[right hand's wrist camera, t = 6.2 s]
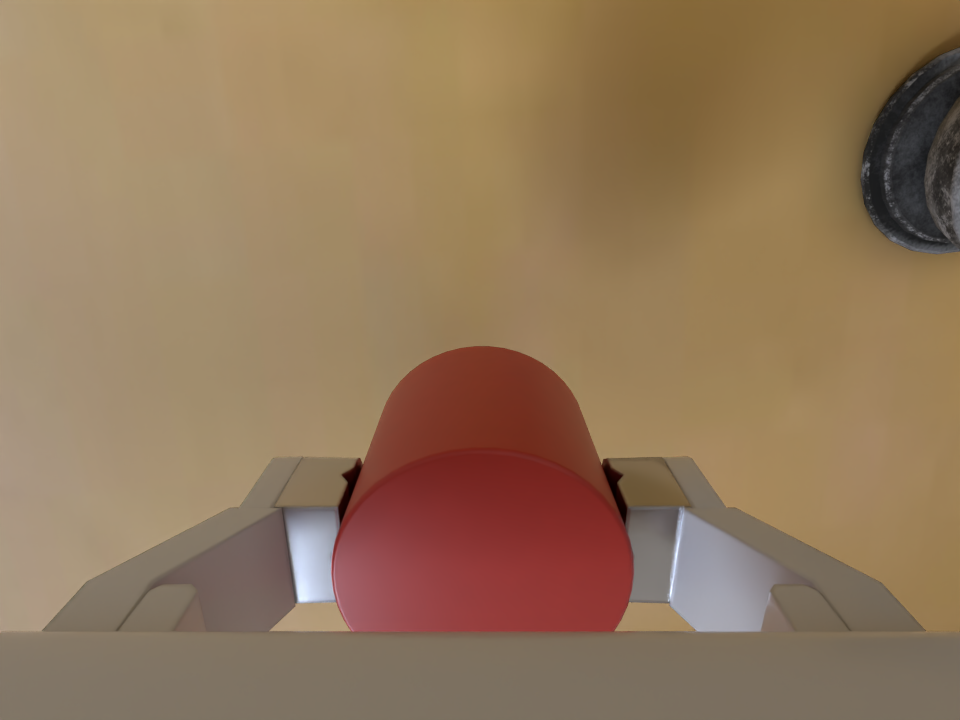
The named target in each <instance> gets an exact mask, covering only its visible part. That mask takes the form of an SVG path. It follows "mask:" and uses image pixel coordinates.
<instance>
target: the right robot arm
mask: <svg viewBox="0 0 960 720" xmlns="http://www.w3.org/2000/svg"><path fill="white" fill-rule="evenodd" d="M362 466H363V464H362V461H361V459H360V458H331V457H305V458H304V457H302V456H301V457H276V458H273V459H272V460H271V461H270V463H269V464H268V466H267V467H266V469H265V470H264V472H263V473H262V475H261V476H260V478H259V479H258V480H257V482H256V483H255V485H254V486H253V488H252V489H251V491H250V492H249V494H248V495H247V497H246V498H245V500H244V501H243V503H242V504H241V505H240V507H239V508H229V509H227V510H225V511H223V512H221V513H219V514H217V515H215V516H213V517H211V518H209V519H207V520H205V521H203V522H202V523H200V524H198V525H196V526H194V527H192V528H190V529H188V530H186V531H184V532H182V533H180V534H178V535H176V536H174V537H172V538H171V539H169V540H167V541H165V542H163V543H161V544H159V545H157V546H155V547H153V548H151V549H149V550H147V551H145V552H143V553H142V554H140V555H138V556H136V557H134V558H132V559H130V560H128V561H126V562H124V563H122V564H120V565H118V566H116V567H114V568H112V569H111V570H109V571H107V572H105V573H103V574H101V575H99V576H97V577H95V578H93V579H91V580H89V581H87V582H86V583H85V584H84V585H83V586H82V587H81V589H80V590H79V591H78V592H77V593H76V594H75V595H74V596H73V597H72V598H71V599H70V601H69V602H68V603H67V604H66V605H65V606H64V607H63V608H62V609H61V610H60V611H59V613H58V614H57V615H56V616H55V617H54V618H53V619H52V620H51V621H50V622H49V624H48V625H47V626H46V627H45V628H44V629H43V630H42V631H0V720H960V632H944V631H926V630H925V629H924V628H923V627H922V626H921V625H920V624H919V623H918V622H917V621H916V620H915V619H914V617H913V616H912V615H911V614H910V613H909V612H908V611H907V610H906V609H905V608H904V607H903V606H902V604H901V603H900V602H899V601H898V600H897V599H896V598H895V597H894V596H893V595H892V594H891V593H890V591H889V590H888V589H887V588H886V587H885V586H884V585H883V584H882V583H881V582H879V581H877V580H875V579H873V578H871V577H869V576H867V575H865V574H863V573H862V572H860V571H858V570H856V569H854V568H852V567H850V566H848V565H846V564H844V563H842V562H840V561H838V560H836V559H834V558H832V557H830V556H828V555H826V554H825V553H823V552H821V551H819V550H817V549H815V548H813V547H811V546H809V545H807V544H805V543H803V542H801V541H799V540H797V539H795V538H793V537H791V536H789V535H788V534H786V533H784V532H782V531H780V530H778V529H776V528H774V527H772V526H770V525H768V524H766V523H764V522H762V521H760V520H758V519H756V518H754V517H752V516H751V515H749V514H747V513H745V512H743V511H741V510H739V509H737V508H726V506H725V505H724V503H723V502H722V501H721V499H720V498H719V496H718V495H717V494H716V492H715V491H714V489H713V488H712V486H711V485H710V484H709V482H708V481H707V479H706V478H705V476H704V475H703V474H702V472H701V471H700V469H699V468H698V466H697V465H696V464H695V462H694V461H693V459H692V458H690V457H688V456H683V457H646V458H607V459H603V463H602V468H603V470H604V473H605V475H606V478H607V481H608V483H609V486H610V489H611V491H612V494H613V496H614V499H615V502H616V504H617V507H618V510H619V512H620V515H621V517H622V520H623V523H624V525H625V528H626V531H627V533H628V536H629V538H630V542H631V547H632V551H633V556H634V579H633V587H632V592H631V595H630V599H629V602H642V603H670V606H671V607H672V608H673V609H674V610H675V611H676V612H677V613H678V614H679V615H680V616H681V617H682V618H683V619H684V620H686V621H687V622H688V623H689V624H690V625H691V626H692V627H693V628H694V629H695V630H696V631H575V632H467V631H269V630H270V629H271V628H273V627H274V626H275V625H276V624H277V623H278V622H279V621H280V620H281V619H282V618H283V617H284V616H285V615H286V614H287V613H289V612H290V611H291V610H292V609H293V608H294V607H295V603H322V602H336V598H335V595H334V591H333V586H332V578H331V558H332V552H333V547H334V543H335V539H336V536H337V533H338V531H339V528H340V525H341V523H342V520H343V517H344V515H345V512H346V509H347V506H348V504H349V501H350V498H351V496H352V493H353V490H354V488H355V485H356V482H357V480H358V477H359V474H360V471H361V469H362Z"/></svg>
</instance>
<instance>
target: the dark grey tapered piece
mask: <svg viewBox="0 0 960 720" xmlns="http://www.w3.org/2000/svg"><path fill="white" fill-rule="evenodd" d="M861 185H862V192H863V198H864V204H865V206H866V208H867V211H868V213H869V215H870V217H871V219H872V221H873V223H874V225H875V226H876V227H877V228H878V229H879V230H880V231H881V232H882V233H883V234H884V235H885V236H886V237H887V238H888V239H889V240H890V241H892V242H895V243H897V244H899V245H901V246H903V247H905V248H907V249H909V250H912V251H918V252H925V253H932V254H942V253H951V252H959V251H960V47H959V48H956V49H954V50H951V51H949V52H947V53H944V54H942V55H939V56H938V57H936V58H935V59H933V60H932V61H931V62H929V63H928V64H926V65H925V66H923V67H922V68H921V69H919V70H918V71H916V72H915V73H913V74H912V75H911V76H910V77H909V79H908V80H907V81H906V82H905V83H904V84H903V85H902V86H901V87H900V88H899V89H898V90H897V91H896V92H895V93H894V94H893V95H892V97H891V98H890V99H889V101H888V102H887V104H886V106H885V107H884V109H883V111H882V112H881V114H880V115H879V117H878V119H877V120H876V122H875V123H874V125H873V128H872V131H871V134H870V137H869V139H868V142H867V145H866V148H865V150H864V155H863V164H862V172H861Z"/></svg>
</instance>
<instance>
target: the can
mask: <svg viewBox="0 0 960 720" xmlns="http://www.w3.org/2000/svg"><path fill="white" fill-rule="evenodd" d="M331 578H332V586H333V591H334V595H335V598H336V602H337V606H338V608H339V610H340V612H341V614H342V617H343V619H344V621H345V622H346V624H347V626H348V627H349V629H350V630H351V631H467V632H575V631H614V630H615V629H616V627H617V626H618V624H619V623H620V621H621V619H622V617H623V615H624V612H625V610H626V608H627V606H628V602H629V599H630V595H631V592H632V587H633V579H634V556H633V551H632V547H631V542H630V538H629V536H628V533H627V531H626V528H625V525H624V523H623V520H622V517H621V515H620V512H619V510H618V507H617V504H616V502H615V499H614V496H613V494H612V491H611V489H610V486H609V483H608V481H607V478H606V475H605V473H604V470H603V468H602V465H601V462H600V460H599V457H598V454H597V452H596V449H595V447H594V444H593V441H592V439H591V436H590V433H589V431H588V428H587V426H586V423H585V420H584V418H583V415H582V412H581V410H580V407H579V405H578V402H577V400H576V399H575V397H574V395H573V393H572V392H571V390H570V389H569V388H568V386H567V385H566V384H565V383H564V381H563V380H562V379H561V378H560V377H559V376H558V375H557V374H556V373H555V372H553V371H552V370H551V369H549V368H548V367H547V366H545V365H544V364H543V363H541V362H539V361H537V360H535V359H534V358H532V357H530V356H527V355H525V354H522V353H519V352H517V351H513V350H509V349H505V348H498V347H490V346H474V347H466V348H459V349H455V350H451V351H447V352H445V353H442V354H439V355H437V356H434V357H432V358H430V359H429V360H427V361H425V362H423V363H421V364H420V365H419V366H417V367H416V368H415V369H413V370H412V371H411V372H409V373H408V374H407V375H406V376H405V377H404V378H403V379H402V380H401V381H400V383H399V384H398V385H397V386H396V388H395V389H394V390H393V392H392V393H391V395H390V397H389V399H388V400H387V402H386V405H385V407H384V410H383V412H382V415H381V418H380V420H379V423H378V426H377V428H376V431H375V434H374V437H373V439H372V442H371V445H370V447H369V450H368V453H367V455H366V458H365V461H364V463H363V466H362V469H361V471H360V474H359V477H358V480H357V482H356V485H355V488H354V490H353V493H352V496H351V498H350V501H349V504H348V506H347V509H346V512H345V515H344V517H343V520H342V523H341V525H340V528H339V531H338V533H337V536H336V539H335V543H334V547H333V552H332V558H331Z"/></svg>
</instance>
